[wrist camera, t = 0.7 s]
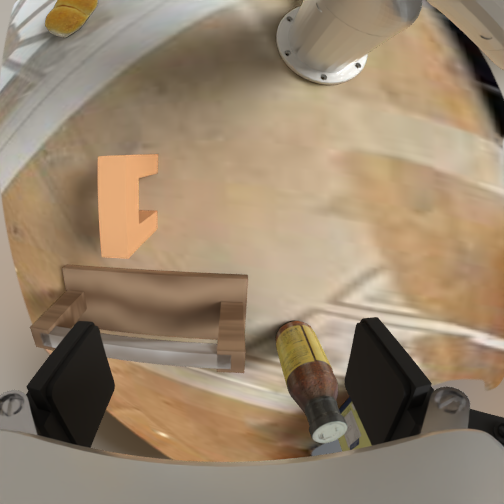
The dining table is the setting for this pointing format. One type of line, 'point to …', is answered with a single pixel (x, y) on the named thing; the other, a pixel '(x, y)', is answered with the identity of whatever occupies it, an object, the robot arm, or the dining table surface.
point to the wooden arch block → (124, 203)
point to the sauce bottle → (310, 380)
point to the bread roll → (69, 16)
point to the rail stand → (153, 315)
